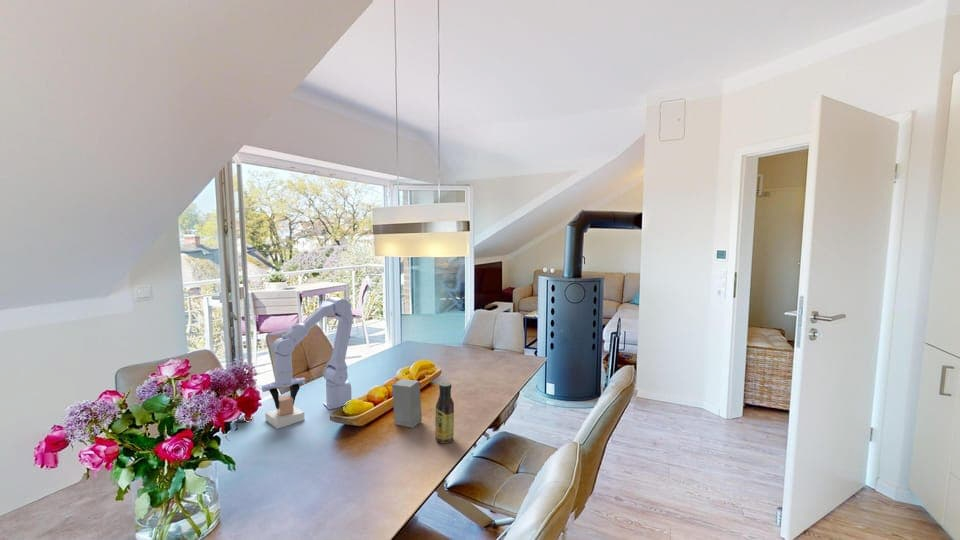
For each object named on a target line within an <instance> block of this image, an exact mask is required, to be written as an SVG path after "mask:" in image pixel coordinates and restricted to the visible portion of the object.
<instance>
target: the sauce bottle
mask: <svg viewBox="0 0 960 540" xmlns="http://www.w3.org/2000/svg"><path fill="white" fill-rule="evenodd" d="M438 385H439V386H438V388H439V395H438V398H437V402H436V404H435V417H434V418H435V419H434V420H435V422H434V424H435V428H434V429H435V431H434V435H435V441H436V442H438V443H439V444H449V443H451V442H453V439H454V434H455V432H454V431H455V430H454V427H455V425H454V424H455V408H454V407H455V404H454V400H453V398H452V394H451V393H452V392H451V390H452V383H451V382H449V381H441V382H439V384H438Z"/></svg>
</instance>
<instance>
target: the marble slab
mask: <svg viewBox="0 0 960 540" xmlns="http://www.w3.org/2000/svg"><path fill="white" fill-rule="evenodd" d="M293 409H294V413H290V414H286V415H282V416H280V415H279V414H278V412H277V408H275V409H273V410H271V411H267V412H265V422H266V423H267V422H268V424H270V425H271V426H272V427H274V428H275V429H276V430H278V429H280V428H284V427H286V426H289V425H292V424H296V423H299V422H302V421H305V411H303V410H301V409H300V408H299V407H297V406H296V405H295V404H294V405H293Z"/></svg>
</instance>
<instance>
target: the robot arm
mask: <svg viewBox="0 0 960 540" xmlns="http://www.w3.org/2000/svg"><path fill="white" fill-rule="evenodd" d="M327 316H335V318H336V319H337V320H338V322H337V328H336V334H335V338H334V343H333V348H332V353H331V358H330V359H329V360H328V361H327V362H326V366H325V367H324V369H323V370H322V371H323V372H322V377H323V378H324V379H325V391H326V392H325V393H326V399H325V401H323V402H322V403H323V405H324V406H325V407H326V408H327V409H328V410H334V409H337V408H341V406H342V407H344V406H343V405H344V404H345V403H346V402H347V401H349V400H352V399H353V398H352V397H353V396H352V384H351V382H350V381H349V380H348V378H349V377H348V376H349V374H348V365H347V363H346V356H347V351H348V346H349V341H350V337H351V336H350V335H351V331H352V326H353V321H354V315H353V312H352V304H351V302H349V300H347V298H341V297H337V296H328V297H327V298H326V300H323V301H322V302H321V304H320V306H319V307H318V308H316V310H315V311H313V312H312V313H311V314H310V315H309V316H308V317H307V318H306V319H305V320H304V321H303V322H301V323H300V322H297V323H296V324H293V325H292V326H291V328H290V329H289V330H288V331H287V332H286V333H285V334H284V333H283V334H282V335H281V337H278V338H277V339H275V340H274V341H273V343H272V345H271V350H272V351H273V352H274V375H275V376H274V377H275V378H274V379H275V380H274V382H270V383H266V384H263V385H261V391H262V393H266V392H269V393H270V395H271V397H272V399H273V401H274V405H275V409H279V401H278V398H279V397H280V396H279V395H280V392H279V389H282V388H288V387H289V393H290V394H289V395H291V396H292V398H293V405H294V406H295V400H296V396H297V395H298V392H299V390H300V385H305V384H306V378H305V377H298V378H297V377H296V378H293V357H292V356H293V355H292V353H293V352H294V351H295V347H296V346H297V345H298V344H299V343H300V342H301V341H303V340H304V339H305V338H306V337H307V336H308V335H309V331H310V329H311V328H313V327H314V326H315V325H316V324H317V323H319V322H320V321H321V320H322V319H324V318H325V317H327ZM352 401H353V400H352Z"/></svg>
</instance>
